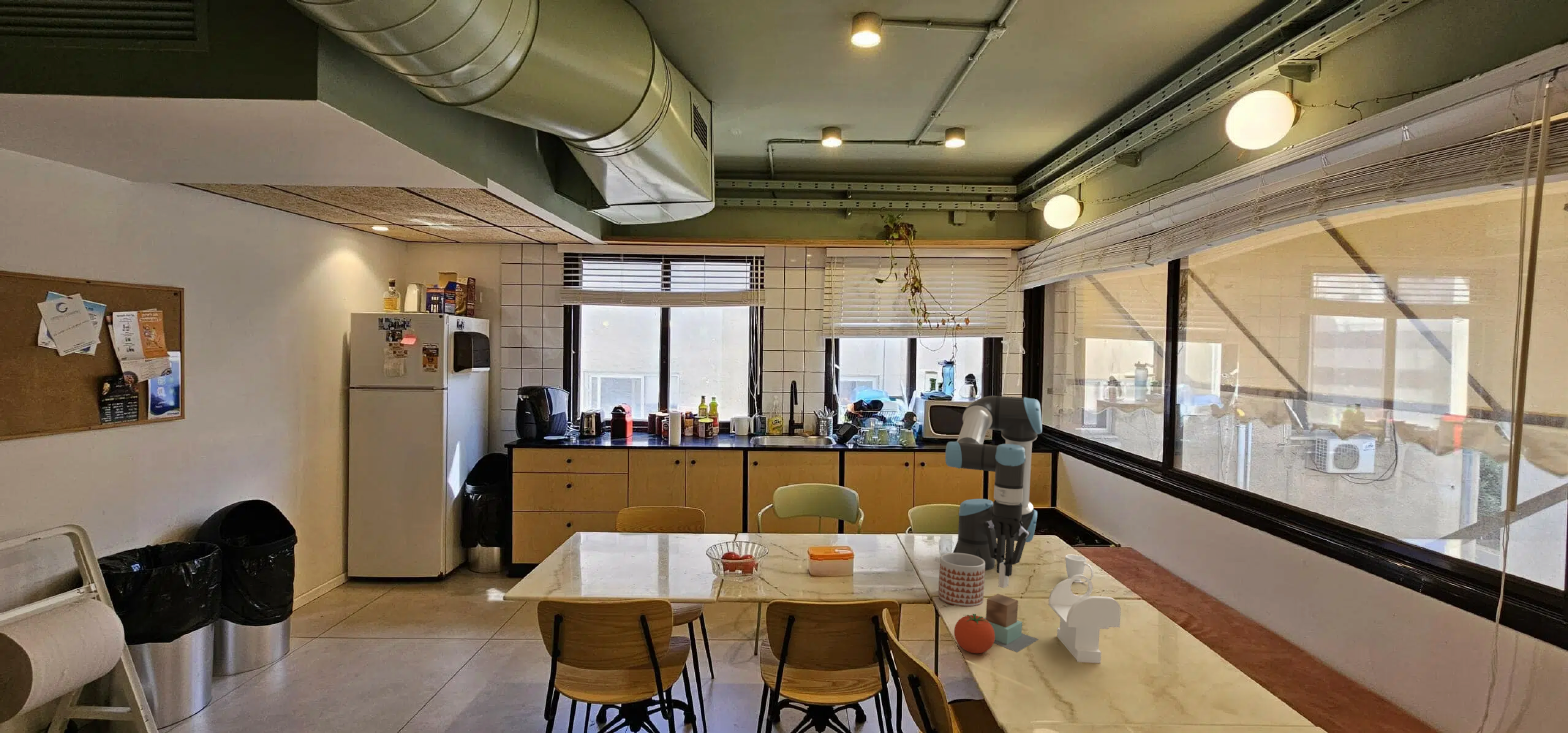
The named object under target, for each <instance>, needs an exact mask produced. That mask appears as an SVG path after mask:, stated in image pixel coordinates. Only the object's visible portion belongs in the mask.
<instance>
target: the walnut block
mask: <svg viewBox="0 0 1568 733" xmlns="http://www.w3.org/2000/svg"><path fill="white" fill-rule="evenodd" d="M1018 606H1019V600H1018V599H1015V598H1013V597H1010V596H1007V595H1003V594H999V593H996V594H994V595H992V596H991V597H988V598H986V609H985V610H986V612H985V618H986V620H987V621H989V622H992V623H994V624H997V625H1000V626H1003V627H1005V628H1006V627H1008V626H1010V625H1012V624H1014V623H1016V622H1017V620H1018V610H1019V609H1018V608H1019V607H1018Z"/></svg>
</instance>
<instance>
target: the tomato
mask: <svg viewBox="0 0 1568 733" xmlns="http://www.w3.org/2000/svg"><path fill="white" fill-rule="evenodd" d="M984 618H985V617H983V616H979V615H977V613H972V614H967V615H964V616H962V617H961V618H959V619H958V620H957V622H956V624H955V625H954V630H953V631H954V635H953V636H954V639H955V642H956V643H957V644H958V645H959V646H960V648H962V649H963V650H965V651H966V652H967V653H971V654H983V653H985V652H987V651H989V650H990V649H991V648H992V647H993V645H994V640H995V632H994V629H993V627H992V625H991V624H990V623H989V622H988V621H987V620H986V619H984Z"/></svg>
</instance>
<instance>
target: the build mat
mask: <svg viewBox="0 0 1568 733" xmlns="http://www.w3.org/2000/svg"><path fill="white" fill-rule="evenodd" d="M1037 641H1039V638H1035V637H1034V636H1031V635H1028V634H1025V633H1022V635H1021V637H1019V638H1018V639H1016V640H1014V641H1012V642H1010V643H1009V644H1004V643H1002V642H999V641H996V640H994V643H993V645H994V644H995V645H997V646H999V647H1003V648H1005V649H1007V650H1010V651H1013V652H1015V653H1019V652H1020V651H1022V650H1023V649H1025V648H1027V647H1029V646H1031V645H1032V644H1034V643H1035V642H1037Z"/></svg>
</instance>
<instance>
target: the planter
mask: <svg viewBox="0 0 1568 733" xmlns="http://www.w3.org/2000/svg"><path fill="white" fill-rule="evenodd" d="M938 572H939V573H938V591H937V592H938V593H937V594H938V595H937V596H938V597H939V598H938V599H940V600H941V601H942V602H944V603H946V604H948V605H951V606H958V607H966V608H967V607H970V608H971V607H977V606H980V605H982V604H983V603H984V594H985V593H984V592H985V576H986V575H985V573H986V570H985V561H984V560H983V559H982V558H980V557H977V556H974V555H970V554H965V553H953V552H948V553H947V552H946V553H943V554H942V555H940V556H939V570H938Z"/></svg>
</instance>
